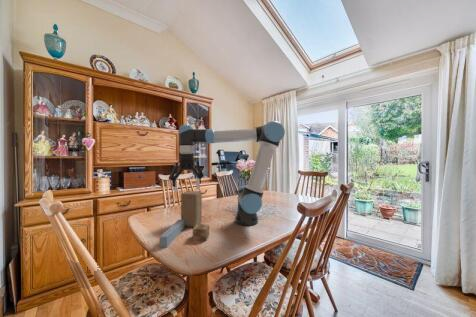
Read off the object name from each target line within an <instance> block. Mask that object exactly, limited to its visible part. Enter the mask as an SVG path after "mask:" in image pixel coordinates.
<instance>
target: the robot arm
mask: <svg viewBox="0 0 476 317" xmlns="http://www.w3.org/2000/svg"><path fill="white" fill-rule="evenodd" d="M178 132H179V133H178V136H179V138H178V139H179V153H180V154H179V162H175V161H174V164H173V167H172V170H171V171H170V174H169V176H168V180H169V181H171V186H172V188H173V193H175V194H178V180H177V179H178V177H179V176H180V175H181V173H182V172H183V171H191V172H192V173H193V174H194V176H195V177H196V178H195V181H196V182H195V183H196V185H195V186H196V189H195V190H197V191H201V190H200V189H201V188H200V187H201V186H200V184H202V178H204V176H205V175H204V172H203V171H202V169H201V167H200V164H199V161H198V160H197V161H194V160H195V159H194V156H195V155H194V144H195V143H196V144H197V143H199V144H201V143H202V144H204V145H208V144H217V143H218V144H221V143H236V142H250V141H251V142H252V141H253V142H254V143H258V144H259V149H258V151H257V155H256V156H255V157H256V158H255V160H254V164H253V167H252V171H251V173H250V177H249V180H248V183H247V184H245V185H244V186H243V185H242V186H238V187H237V211H236V214H235V216H234V223H236V224H237V225H241V226H254V225H257V224H258V223H259V216H258V212H259V211H260V210H261V208H262V206H263V200H262V199H263V196H264V193H265V192H264V190H263V187H264V184H265V180H266V178H267V174H268V172H269V168H270V165H271V162H272V159H273V156H274V153H275V150H276V149H278V148H279V145H280V143H281V141H282V139H283V138H284V137H285V134H286V130H285V127H284V125H283V124H282V123H281V122H279V121H276V120H270V121H268V122H267V123H265V124H263V125H262V126H254V127H253V128H247V129H245V128H244V129H229V130H227V129H226V130H214V129H212V128H211V129H210V128H207V129H204V128H200V129H196V128H195V129H194V126H193V125H192V124H191V125H189V124H182V125H180V126H179V131H178ZM194 166H195V167H194ZM195 168H196V169H195Z"/></svg>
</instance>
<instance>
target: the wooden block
mask: <svg viewBox="0 0 476 317" xmlns="http://www.w3.org/2000/svg"><path fill="white" fill-rule="evenodd" d="M202 193H203V192H202V191H201V190H197V191H196V190H187V191H185V192H181V193H180V220H184V227H189V228H190V227H192V228H194V227H195V225H196V224H201V223H202V221H203V220H202V216H203V214H202V213H203V212H202V209H203V208H202V206H203V204H202V203H203V201H202V200H203V199H202V198H203V197H202Z"/></svg>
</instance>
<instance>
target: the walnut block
mask: <svg viewBox="0 0 476 317" xmlns="http://www.w3.org/2000/svg"><path fill="white" fill-rule="evenodd" d="M209 236H210V224H201V223H200V224H196V225H195V227H192V241H198V242H199V241H200V242H207V240H208V239H209Z"/></svg>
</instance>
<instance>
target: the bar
mask: <svg viewBox="0 0 476 317" xmlns="http://www.w3.org/2000/svg"><path fill="white" fill-rule="evenodd" d="M184 229H185V226H184V220H181V219H178V220H177V221H175V222H174V223H173V224H172V225H171V226H170V227H169V228H168V229H167V230H165V231H164V232H163V233H162V234H161V235H159V248H168V247H169V246H170V245H171V244H172V242H173V241H174V240H175V239H176V238H177V237H178V236H179V235H180V234H181V232H182V231H184Z"/></svg>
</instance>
